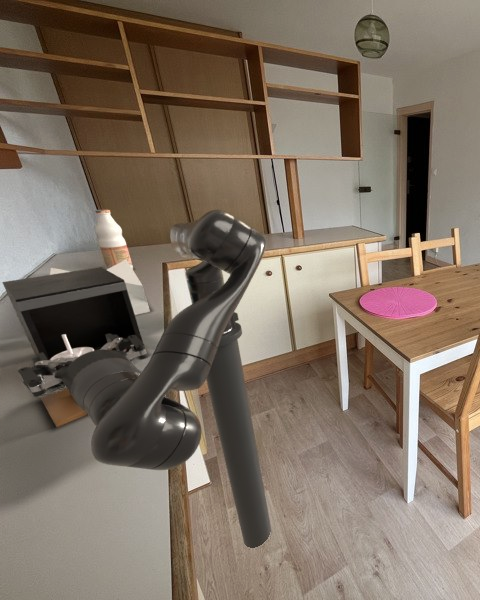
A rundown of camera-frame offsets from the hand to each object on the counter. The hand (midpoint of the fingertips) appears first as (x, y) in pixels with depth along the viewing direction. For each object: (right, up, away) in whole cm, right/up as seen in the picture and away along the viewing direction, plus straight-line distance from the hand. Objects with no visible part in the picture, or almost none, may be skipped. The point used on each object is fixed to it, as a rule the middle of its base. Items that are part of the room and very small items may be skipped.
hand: (77, 347), depth 54 cm
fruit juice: (-77, +22, +95) cm, 124 cm away
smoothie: (-9, -12, +11) cm, 19 cm away
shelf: (-21, -7, +25) cm, 34 cm away
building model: (-53, +8, +60) cm, 81 cm away
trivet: (-9, -12, +12) cm, 20 cm away
